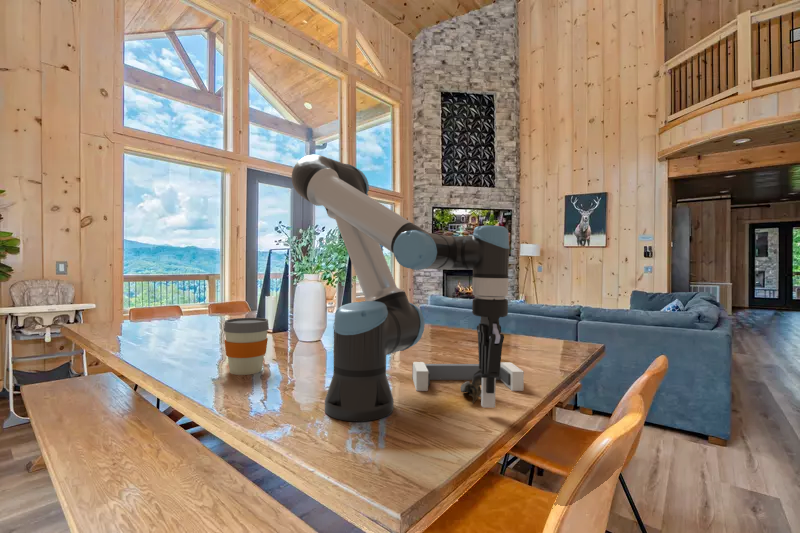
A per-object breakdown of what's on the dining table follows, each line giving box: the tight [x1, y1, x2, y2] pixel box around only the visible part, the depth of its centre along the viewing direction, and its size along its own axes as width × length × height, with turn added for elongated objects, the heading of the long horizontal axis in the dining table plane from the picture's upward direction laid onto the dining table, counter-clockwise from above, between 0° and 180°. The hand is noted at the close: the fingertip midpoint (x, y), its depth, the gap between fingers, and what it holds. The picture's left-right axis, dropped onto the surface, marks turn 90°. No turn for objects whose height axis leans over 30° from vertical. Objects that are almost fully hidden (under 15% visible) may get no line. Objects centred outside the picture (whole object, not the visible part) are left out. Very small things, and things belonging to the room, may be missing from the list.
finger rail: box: [411, 361, 525, 392], centre depth 109 cm, size 28×12×5 cm, turn 93°
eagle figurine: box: [460, 370, 482, 404], centre depth 98 cm, size 8×7×9 cm
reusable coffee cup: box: [223, 317, 270, 376], centre depth 119 cm, size 13×13×15 cm
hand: (488, 406), depth 87 cm, fingers closed
